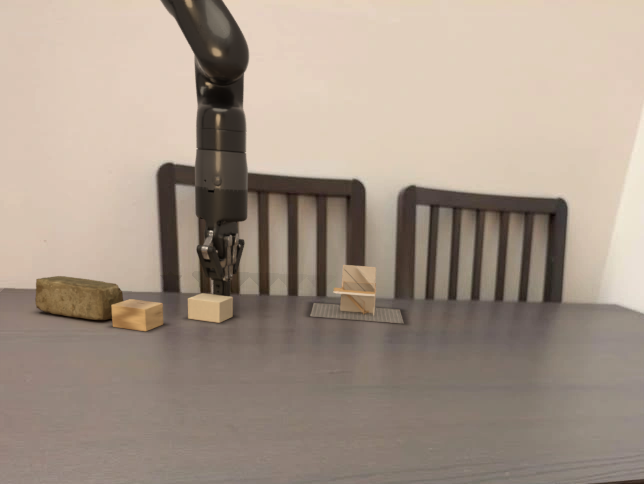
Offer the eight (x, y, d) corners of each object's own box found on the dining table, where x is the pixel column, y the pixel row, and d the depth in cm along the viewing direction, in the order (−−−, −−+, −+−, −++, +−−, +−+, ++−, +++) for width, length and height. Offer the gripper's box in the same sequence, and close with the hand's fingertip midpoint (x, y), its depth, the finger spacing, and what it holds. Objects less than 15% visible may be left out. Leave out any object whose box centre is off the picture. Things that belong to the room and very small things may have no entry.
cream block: (187, 318, 108) (187, 298, 106) (202, 312, 112) (202, 292, 111) (219, 323, 107) (219, 302, 105) (232, 316, 111) (232, 296, 110)
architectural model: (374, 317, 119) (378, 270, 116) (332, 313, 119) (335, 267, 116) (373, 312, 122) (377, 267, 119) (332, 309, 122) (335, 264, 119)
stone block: (104, 324, 100) (101, 287, 98) (32, 313, 103) (28, 277, 101) (127, 316, 106) (125, 281, 104) (58, 307, 108) (55, 272, 106)
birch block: (112, 326, 100) (111, 304, 98) (131, 320, 104) (130, 298, 103) (146, 331, 99) (145, 309, 97) (163, 324, 103) (162, 303, 102)
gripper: (216, 181, 112) (216, 295, 119) (176, 183, 100) (179, 309, 108) (262, 186, 111) (259, 300, 118) (227, 188, 99) (227, 316, 106)
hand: (221, 304), depth 113 cm, fingers closed
